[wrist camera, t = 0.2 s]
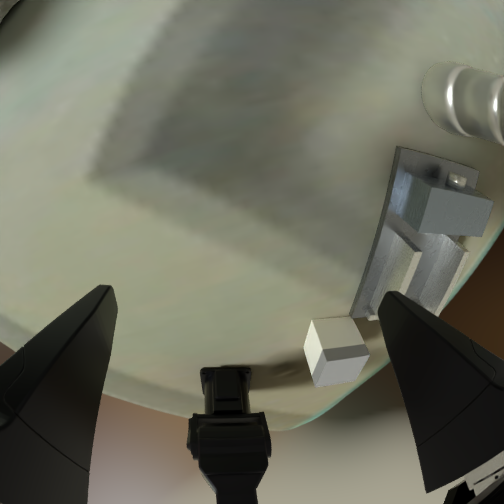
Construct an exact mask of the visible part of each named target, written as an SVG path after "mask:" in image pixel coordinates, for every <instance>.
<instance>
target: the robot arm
mask: <svg viewBox="0 0 504 504" xmlns="http://www.w3.org/2000/svg"><path fill="white" fill-rule="evenodd" d="M117 312H118V307H117V302H116V298H115V294H114V290H113V287H112V286H111V285H99V286H97V287H96V288H94V289H93V290H92V291H90V292H89V293H88V294H86V295H85V296H84V297H83V298H81V299H80V300H79V301H77V302H76V303H75V304H74V305H72V306H71V307H70V308H68V309H67V310H66V311H65V312H63V313H62V314H61V315H60V316H58V317H57V318H56V319H55V320H53V321H52V322H51V323H50V324H49V325H47V326H46V327H45V328H44V329H43V330H41V331H40V332H39V333H38V334H37V335H35V336H34V337H33V338H32V339H31V340H29V341H28V342H27V343H26V344H25V345H24V347H21V348H20V349H19V350H18V351H17V352H16V353H14V354H13V355H12V356H11V357H10V358H9V359H7V360H6V361H5V362H4V363H3V364H1V365H0V504H87V501H88V485H89V471H90V463H91V455H92V447H93V440H94V433H95V427H96V421H97V416H98V410H99V405H100V400H101V395H102V390H103V386H104V381H105V377H106V373H107V369H108V364H109V360H110V356H111V350H112V343H113V337H114V330H115V324H116V318H117ZM378 318H379V321H380V325H381V329H382V332H383V336H384V340H385V344H386V348H387V351H388V354H389V357H390V360H391V363H392V366H393V368H394V372H395V375H396V378H397V381H398V384H399V387H400V390H401V393H402V397H403V400H404V403H405V406H406V410H407V413H408V417H409V420H410V424H411V428H412V432H413V435H414V439H415V443H416V446H417V452H418V456H419V460H420V466H421V470H422V475H423V480H424V485H425V490H426V493H429V492H431V491H434V490H436V489H438V488H440V487H442V486H444V485H446V484H448V483H451V482H452V481H454V480H456V479H458V478H460V477H462V476H464V478H465V480H463V481H462V482H460V483H459V484H457V485H456V486H454V487H453V488H451V489H450V490H448V493H447V496H446V498H445V501H444V503H443V504H504V360H502V359H501V358H499V357H497V356H496V355H494V354H493V353H491V352H489V351H488V350H486V349H485V348H483V347H482V346H480V345H479V344H477V343H476V342H475V341H473V340H472V339H469V337H467V336H466V335H464V334H463V333H461V332H460V331H458V330H457V329H455V328H454V327H452V326H451V325H449V324H448V323H446V322H445V321H443V320H442V319H440V318H439V317H437V316H436V315H434V314H433V313H431V312H430V311H428V310H427V309H425V308H424V307H422V306H420V305H419V304H417V303H416V302H414V301H413V300H411V299H409V298H408V297H406V296H405V295H403V294H402V293H400V292H398V291H387V292H386V293H385V295H384V297H383V299H382V301H381V303H380V305H379V307H378ZM200 376H201V383H202V390H203V394H204V395H205V414H197V413H193V417H192V418H190V419H189V430H188V438H187V449H188V450H190V451H191V454H192V455H193V459H194V460H198V461H199V469H200V472H201V474H202V476H203V478H204V479H205V481H206V482H207V483H208V485H209V486H210V487H211V488H212V490H213V491H214V492H215V494H216V499H217V504H258V500H257V494H256V488H257V487H258V485H259V483H260V481H261V479H262V477H263V475H264V473H265V471H266V469H267V467H268V458H270V457H271V439H270V434H269V430H268V426H267V422H266V418H265V414H264V412H259V413H251V411H250V403H249V394H248V393H249V388H250V379H251V369H250V368H225V369H201V370H200Z"/></svg>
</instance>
